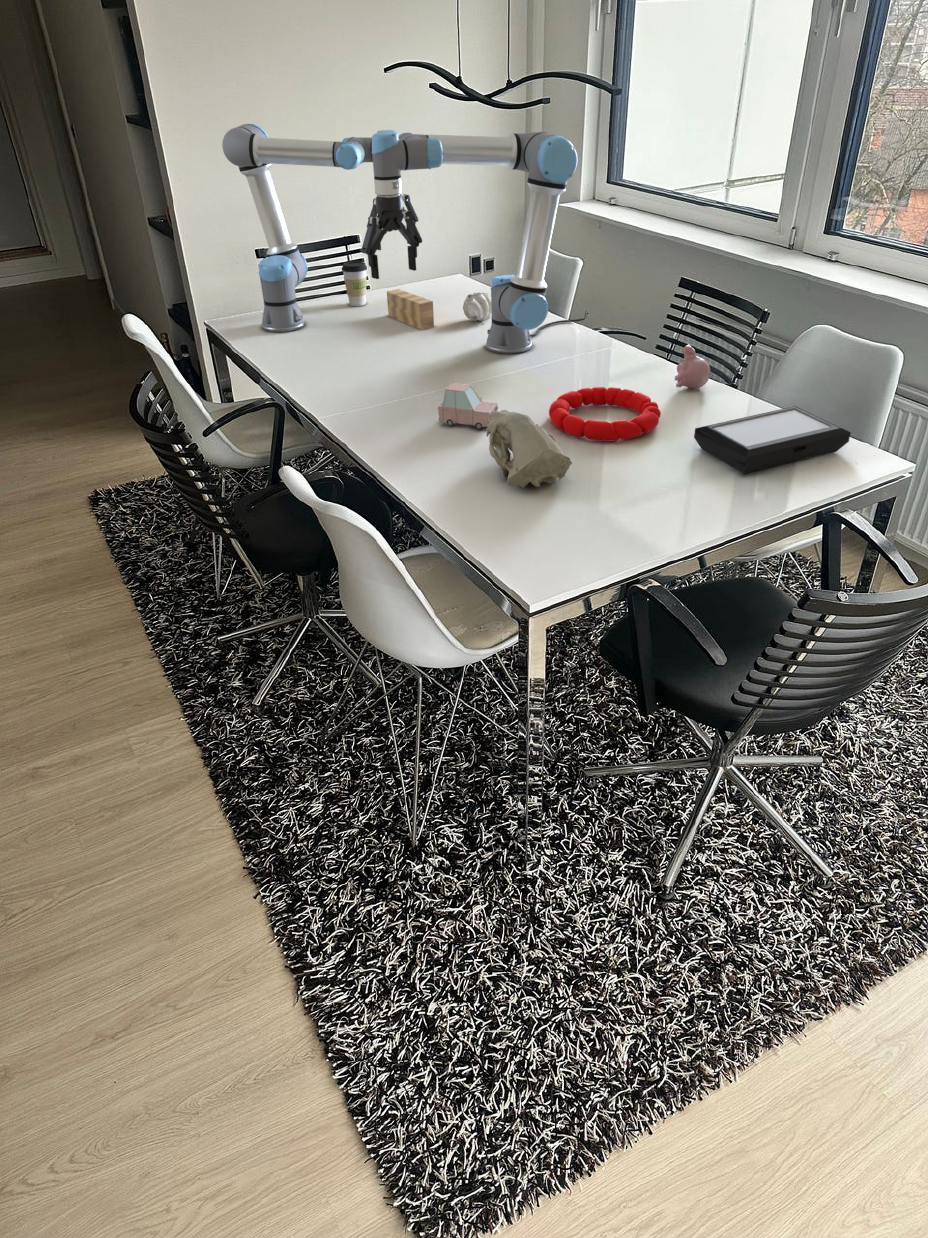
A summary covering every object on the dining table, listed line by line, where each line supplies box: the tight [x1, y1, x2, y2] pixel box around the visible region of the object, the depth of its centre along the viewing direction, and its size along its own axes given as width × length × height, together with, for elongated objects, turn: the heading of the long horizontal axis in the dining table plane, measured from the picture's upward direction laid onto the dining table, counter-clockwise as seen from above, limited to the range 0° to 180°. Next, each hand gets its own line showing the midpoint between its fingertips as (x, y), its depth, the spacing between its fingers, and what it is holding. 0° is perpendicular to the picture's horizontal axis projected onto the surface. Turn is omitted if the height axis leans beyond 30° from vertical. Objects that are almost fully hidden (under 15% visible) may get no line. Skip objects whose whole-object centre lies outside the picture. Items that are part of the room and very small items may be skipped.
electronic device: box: [693, 405, 852, 475], centre depth 223 cm, size 32×6×20 cm
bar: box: [386, 288, 435, 331], centre depth 325 cm, size 23×5×9 cm, turn 36°
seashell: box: [462, 292, 492, 322], centre depth 323 cm, size 10×15×10 cm
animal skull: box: [485, 409, 573, 489], centre depth 216 cm, size 17×25×20 cm
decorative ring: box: [548, 386, 661, 442], centre depth 242 cm, size 7×30×30 cm
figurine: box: [674, 344, 711, 390], centre depth 259 cm, size 9×11×12 cm
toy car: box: [437, 382, 499, 431], centre depth 243 cm, size 9×15×10 cm, turn 70°
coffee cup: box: [341, 260, 368, 307], centre depth 344 cm, size 10×10×15 cm
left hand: (394, 246), depth 318 cm, fingers open, 13 cm apart
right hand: (394, 273), depth 262 cm, fingers open, 13 cm apart
